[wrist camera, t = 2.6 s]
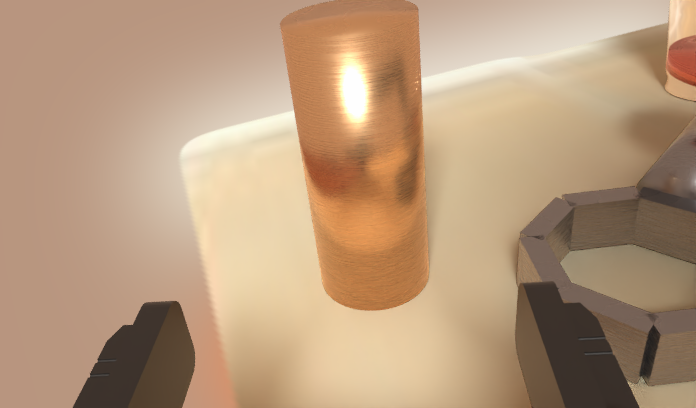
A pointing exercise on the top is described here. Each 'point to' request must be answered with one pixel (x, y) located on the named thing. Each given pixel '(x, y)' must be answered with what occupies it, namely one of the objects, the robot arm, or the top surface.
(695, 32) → the cup with straw
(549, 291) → the robot arm
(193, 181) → the top surface
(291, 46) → the copper cylinder
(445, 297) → the top surface
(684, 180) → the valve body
